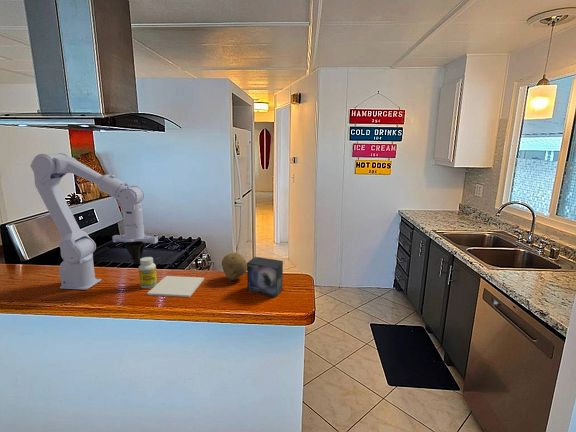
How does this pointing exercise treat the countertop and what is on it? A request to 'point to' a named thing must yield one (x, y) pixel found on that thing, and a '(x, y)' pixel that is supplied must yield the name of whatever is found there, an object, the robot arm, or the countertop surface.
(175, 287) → the mat
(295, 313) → the countertop surface
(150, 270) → the supplement bottle
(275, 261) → the small box
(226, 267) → the natural sponge
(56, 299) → the countertop surface
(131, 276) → the countertop surface
